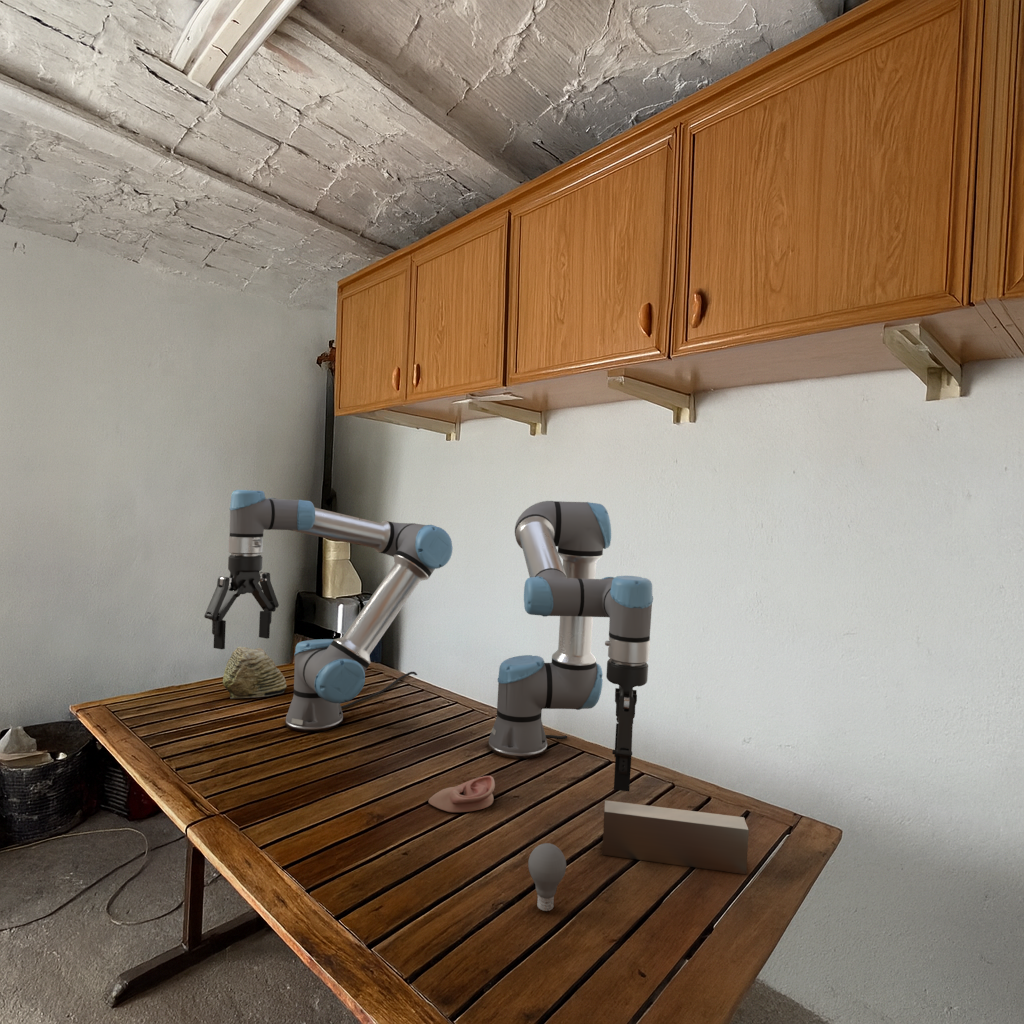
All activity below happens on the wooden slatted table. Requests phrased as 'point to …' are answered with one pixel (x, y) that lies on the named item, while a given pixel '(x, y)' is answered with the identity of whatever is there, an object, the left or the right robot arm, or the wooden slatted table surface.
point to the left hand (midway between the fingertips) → (242, 643)
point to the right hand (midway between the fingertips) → (621, 772)
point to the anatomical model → (465, 796)
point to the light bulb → (546, 873)
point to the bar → (675, 836)
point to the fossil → (252, 674)
